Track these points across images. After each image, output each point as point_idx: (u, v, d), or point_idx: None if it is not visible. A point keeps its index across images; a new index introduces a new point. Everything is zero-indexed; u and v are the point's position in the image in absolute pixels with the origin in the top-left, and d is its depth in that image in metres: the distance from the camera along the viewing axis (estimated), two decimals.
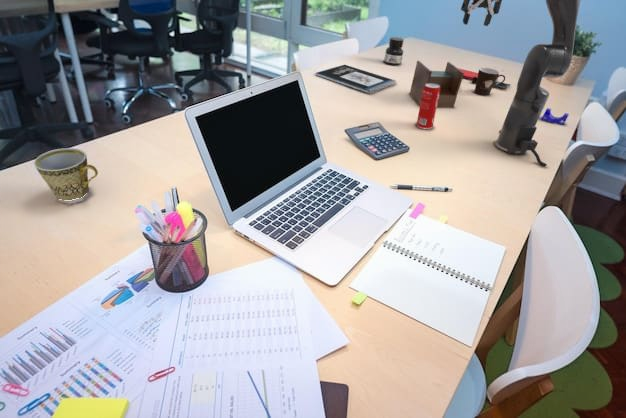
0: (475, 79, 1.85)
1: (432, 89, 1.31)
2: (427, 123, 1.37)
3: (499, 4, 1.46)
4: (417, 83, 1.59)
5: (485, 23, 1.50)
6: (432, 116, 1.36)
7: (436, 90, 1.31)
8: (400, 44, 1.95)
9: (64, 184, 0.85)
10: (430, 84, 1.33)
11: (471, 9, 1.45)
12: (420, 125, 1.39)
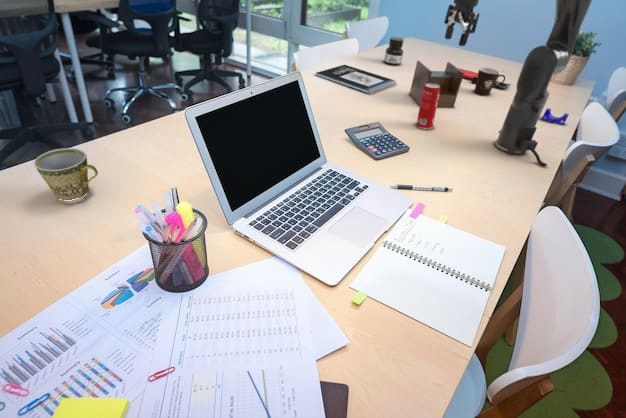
0: (475, 79, 1.85)
1: (432, 89, 1.31)
2: (427, 123, 1.37)
3: (469, 22, 1.23)
4: (417, 83, 1.59)
5: None
6: (432, 116, 1.36)
7: (436, 90, 1.31)
8: (400, 44, 1.95)
9: (64, 184, 0.85)
10: (430, 84, 1.33)
11: (449, 22, 1.33)
12: (420, 125, 1.39)
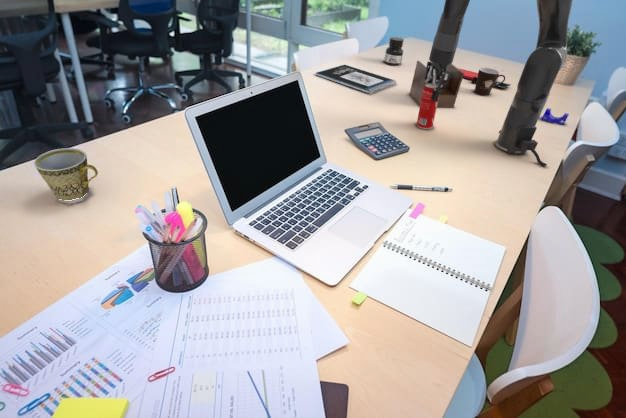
0: (475, 79, 1.85)
1: (432, 89, 1.30)
2: (427, 123, 1.37)
3: (440, 81, 1.25)
4: (417, 83, 1.59)
5: None
6: (432, 116, 1.36)
7: None
8: (400, 44, 1.95)
9: (64, 184, 0.85)
10: (430, 84, 1.33)
11: (427, 78, 1.34)
12: (420, 125, 1.39)
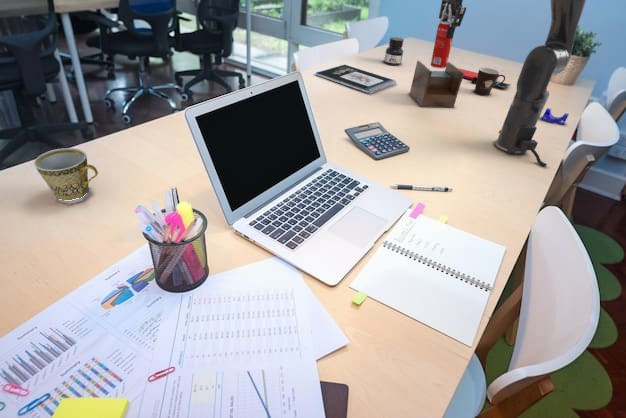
0: (475, 79, 1.85)
1: (447, 26, 1.32)
2: (441, 62, 1.39)
3: (456, 15, 1.27)
4: (417, 83, 1.59)
5: None
6: (446, 55, 1.37)
7: None
8: (400, 44, 1.95)
9: (64, 184, 0.85)
10: (445, 22, 1.35)
11: (442, 16, 1.35)
12: (434, 65, 1.40)
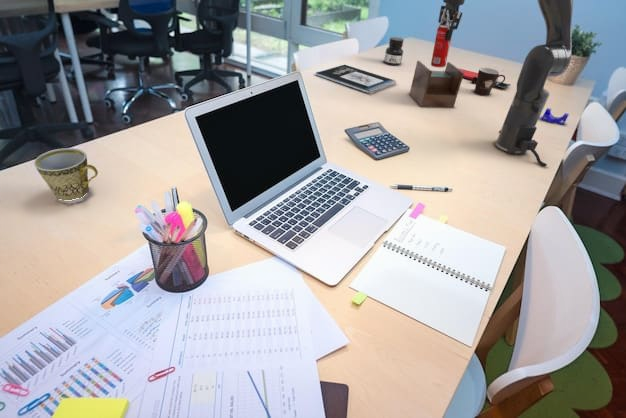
0: (475, 79, 1.85)
1: (445, 29, 1.47)
2: (440, 61, 1.53)
3: (453, 20, 1.42)
4: (417, 83, 1.59)
5: None
6: (445, 55, 1.52)
7: None
8: (400, 44, 1.95)
9: (64, 184, 0.85)
10: (443, 25, 1.49)
11: (441, 21, 1.50)
12: (434, 64, 1.55)
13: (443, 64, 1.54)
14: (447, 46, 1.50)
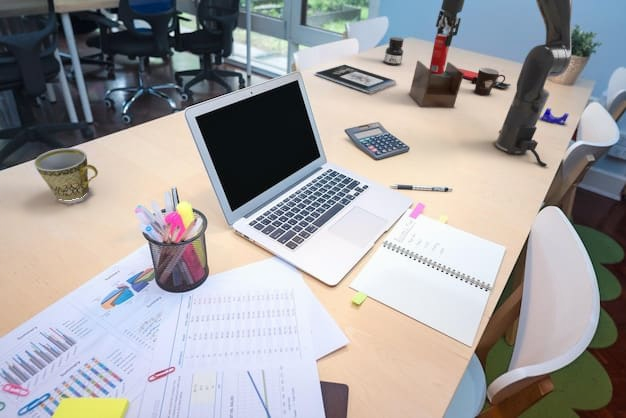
0: (475, 79, 1.85)
1: (443, 37, 1.49)
2: (438, 69, 1.55)
3: (452, 25, 1.42)
4: (417, 83, 1.59)
5: None
6: (443, 63, 1.54)
7: None
8: (400, 44, 1.95)
9: (64, 184, 0.85)
10: (441, 34, 1.51)
11: (439, 25, 1.52)
12: (432, 72, 1.57)
13: (441, 72, 1.56)
14: (445, 54, 1.52)
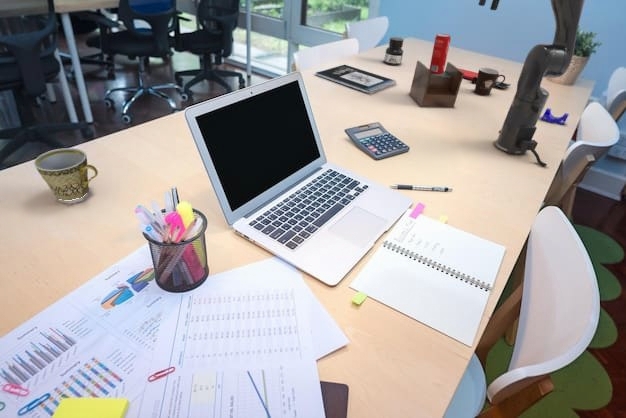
0: (475, 79, 1.85)
1: (443, 37, 1.49)
2: (438, 69, 1.55)
3: None
4: (417, 83, 1.59)
5: None
6: (443, 63, 1.54)
7: (447, 39, 1.49)
8: (400, 44, 1.95)
9: (64, 184, 0.85)
10: (441, 34, 1.51)
11: None
12: (432, 72, 1.57)
13: (441, 72, 1.56)
14: (445, 54, 1.52)
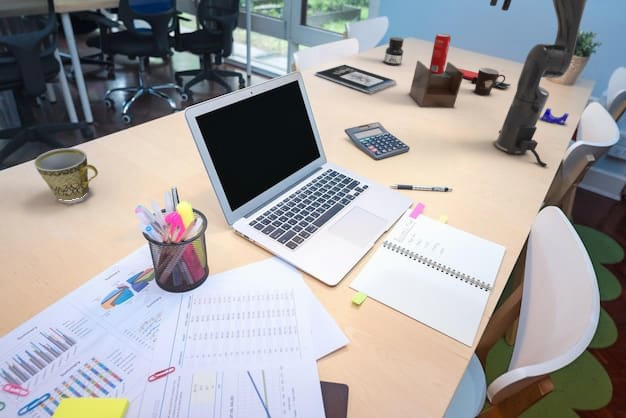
0: (475, 79, 1.85)
1: (443, 37, 1.49)
2: (438, 69, 1.55)
3: None
4: (417, 83, 1.59)
5: None
6: (443, 63, 1.54)
7: (447, 39, 1.49)
8: (400, 44, 1.95)
9: (64, 184, 0.85)
10: (441, 34, 1.51)
11: None
12: (432, 72, 1.57)
13: (441, 72, 1.56)
14: (445, 54, 1.52)
